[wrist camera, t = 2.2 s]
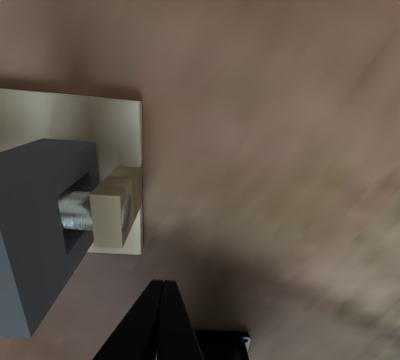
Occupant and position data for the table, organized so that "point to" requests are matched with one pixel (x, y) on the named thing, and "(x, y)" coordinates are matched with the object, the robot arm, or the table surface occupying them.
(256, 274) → the table surface
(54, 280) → the collar
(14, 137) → the stand
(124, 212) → the rod
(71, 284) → the table surface
